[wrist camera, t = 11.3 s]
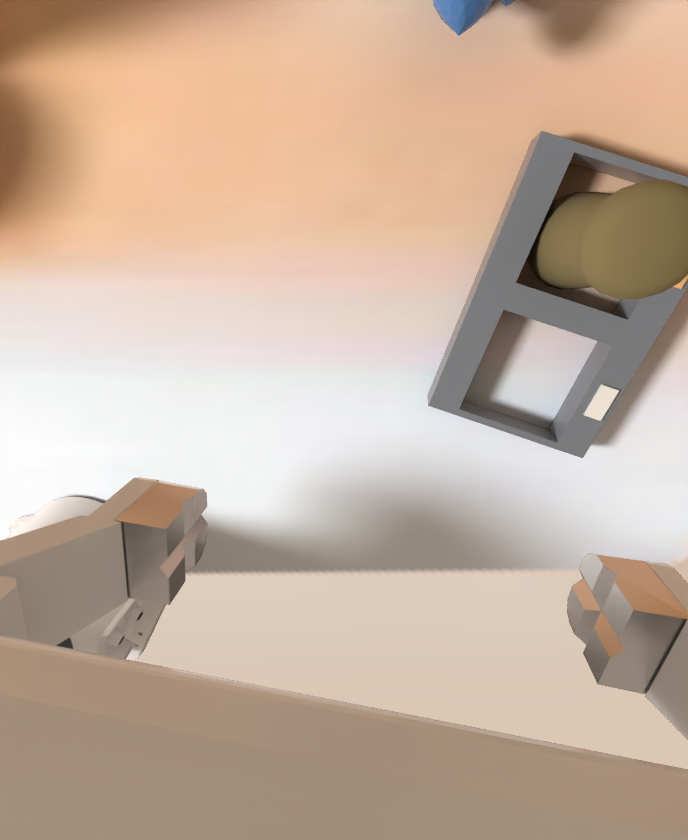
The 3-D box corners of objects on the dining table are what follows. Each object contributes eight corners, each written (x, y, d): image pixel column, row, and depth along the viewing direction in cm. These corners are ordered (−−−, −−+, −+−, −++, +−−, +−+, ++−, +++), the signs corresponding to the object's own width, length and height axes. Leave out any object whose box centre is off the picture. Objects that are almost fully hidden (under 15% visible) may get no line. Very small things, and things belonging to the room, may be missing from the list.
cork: (640, 198, 27) (769, 173, 17) (603, 295, 30) (698, 323, 20) (543, 185, 28) (613, 153, 18) (515, 281, 30) (563, 301, 20)
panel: (572, 444, 34) (583, 459, 32) (427, 395, 34) (428, 406, 32) (717, 198, 27) (747, 194, 24) (532, 139, 27) (543, 129, 25)
